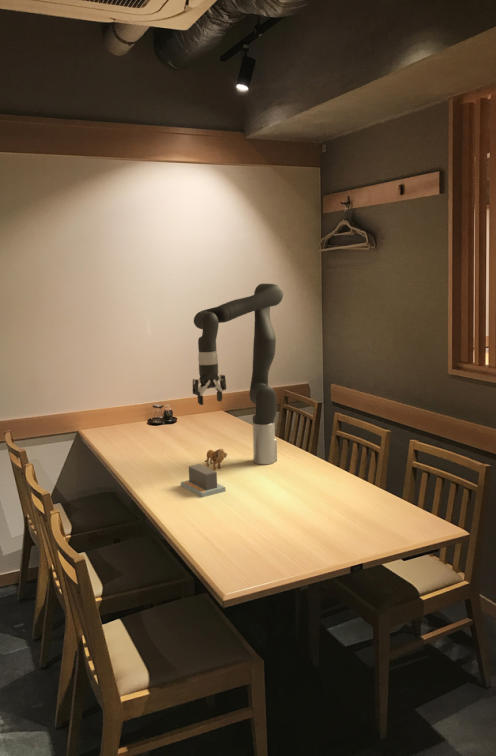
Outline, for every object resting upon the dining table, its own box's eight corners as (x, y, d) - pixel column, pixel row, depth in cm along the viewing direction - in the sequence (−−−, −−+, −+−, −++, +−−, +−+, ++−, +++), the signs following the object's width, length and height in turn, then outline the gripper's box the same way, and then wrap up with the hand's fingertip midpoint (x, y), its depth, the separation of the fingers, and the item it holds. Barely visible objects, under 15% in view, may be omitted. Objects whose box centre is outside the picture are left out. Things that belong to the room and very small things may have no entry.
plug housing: (199, 478, 251) (198, 463, 250) (217, 487, 241) (216, 471, 240) (189, 481, 249) (188, 466, 248) (206, 490, 238) (206, 474, 237)
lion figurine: (229, 469, 266) (228, 448, 265) (218, 472, 263) (218, 451, 262) (209, 461, 278) (208, 441, 276) (198, 464, 275) (198, 444, 273)
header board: (203, 480, 254) (202, 465, 253) (225, 491, 241) (225, 475, 240) (181, 485, 249) (180, 470, 248) (202, 497, 236) (201, 481, 235)
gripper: (218, 359, 260) (220, 398, 263) (187, 363, 252) (190, 404, 255) (228, 361, 254) (230, 401, 257) (197, 365, 246) (199, 407, 249)
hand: (210, 402), depth 256 cm, fingers open, 8 cm apart
